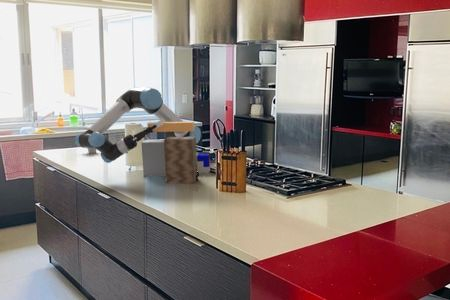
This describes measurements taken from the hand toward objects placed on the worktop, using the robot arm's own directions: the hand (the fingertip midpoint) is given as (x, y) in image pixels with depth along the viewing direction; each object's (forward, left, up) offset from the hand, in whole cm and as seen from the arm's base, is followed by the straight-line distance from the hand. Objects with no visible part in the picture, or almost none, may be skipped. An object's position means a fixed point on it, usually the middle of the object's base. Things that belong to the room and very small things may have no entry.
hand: (162, 121), depth 248 cm
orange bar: (-1, +4, -5) cm, 7 cm away
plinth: (-13, -10, -32) cm, 36 cm away
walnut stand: (-1, +9, -32) cm, 33 cm away
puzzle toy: (-25, +11, -32) cm, 42 cm away
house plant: (-64, -86, -32) cm, 112 cm away
